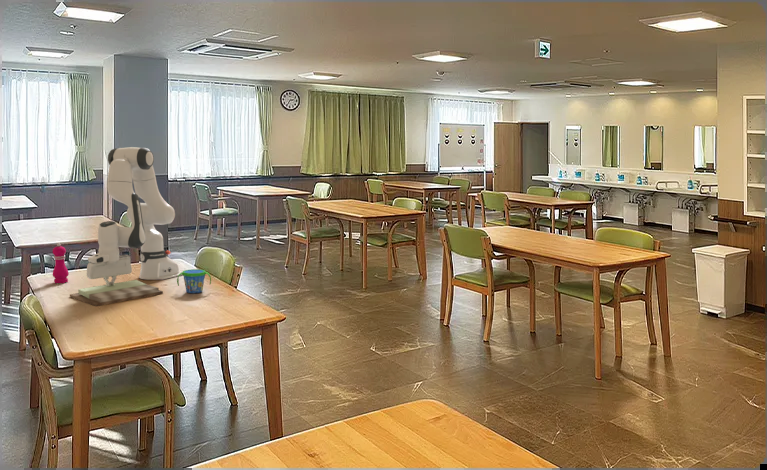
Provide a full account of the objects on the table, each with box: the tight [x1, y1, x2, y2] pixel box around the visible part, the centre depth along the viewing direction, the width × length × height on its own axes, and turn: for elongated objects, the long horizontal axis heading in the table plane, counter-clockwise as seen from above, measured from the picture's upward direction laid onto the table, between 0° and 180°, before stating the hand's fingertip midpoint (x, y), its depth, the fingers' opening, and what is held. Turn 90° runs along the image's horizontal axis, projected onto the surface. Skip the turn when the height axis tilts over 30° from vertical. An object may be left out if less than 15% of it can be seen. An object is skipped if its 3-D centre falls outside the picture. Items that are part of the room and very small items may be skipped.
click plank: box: [77, 279, 148, 298], centre depth 305 cm, size 28×10×2 cm, turn 140°
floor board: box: [69, 284, 164, 307], centre depth 303 cm, size 32×25×3 cm
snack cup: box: [176, 268, 212, 294], centre depth 310 cm, size 16×10×10 cm
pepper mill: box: [52, 242, 69, 284], centre depth 328 cm, size 7×7×20 cm
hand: (110, 285), depth 305 cm, fingers closed, pressing on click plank
